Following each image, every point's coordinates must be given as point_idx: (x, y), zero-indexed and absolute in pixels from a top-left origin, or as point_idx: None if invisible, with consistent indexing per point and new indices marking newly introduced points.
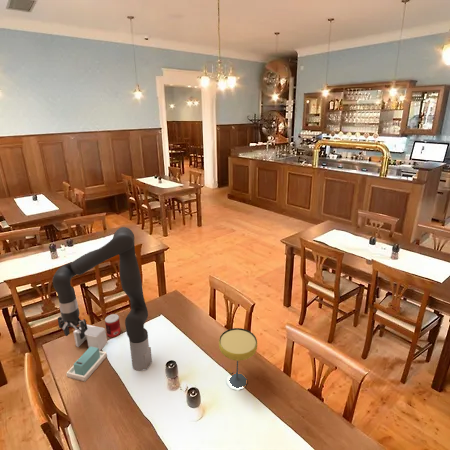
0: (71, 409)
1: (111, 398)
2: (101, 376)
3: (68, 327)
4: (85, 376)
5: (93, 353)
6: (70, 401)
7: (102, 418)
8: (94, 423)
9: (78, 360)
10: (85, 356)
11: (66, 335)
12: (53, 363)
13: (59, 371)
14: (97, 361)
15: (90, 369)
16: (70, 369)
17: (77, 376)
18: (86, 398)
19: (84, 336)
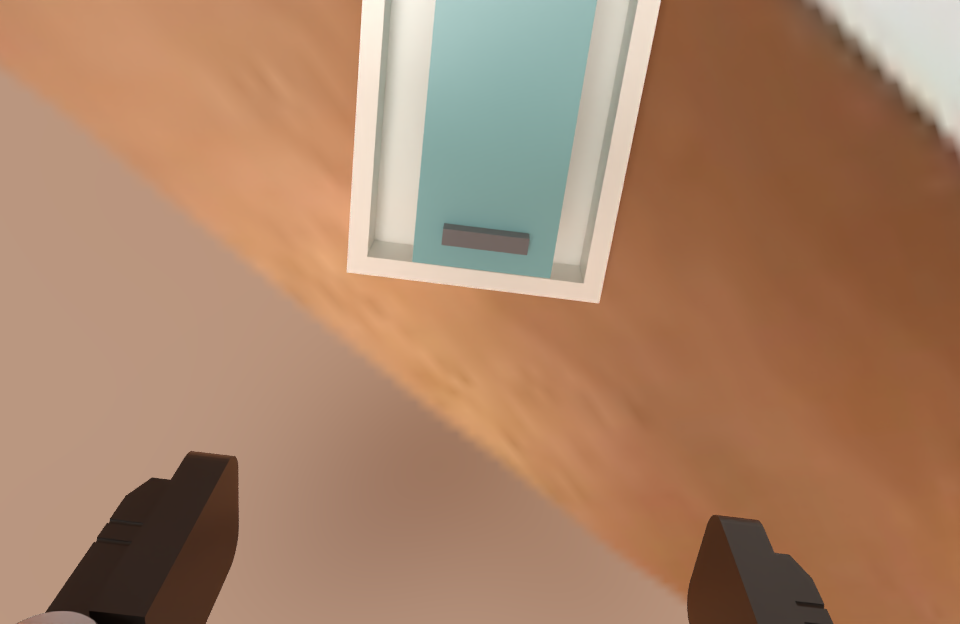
0: (623, 542)
1: (946, 415)
2: (745, 187)
3: (147, 613)
4: (602, 285)
5: (589, 13)
6: (571, 484)
7: (920, 576)
8: (868, 613)
9: (440, 190)
10: (497, 99)
11: (227, 564)
12: (43, 87)
13: (215, 192)
14: (639, 34)
15: (610, 182)
16: (361, 220)
17: (502, 288)
18: (702, 443)
19: (787, 570)
